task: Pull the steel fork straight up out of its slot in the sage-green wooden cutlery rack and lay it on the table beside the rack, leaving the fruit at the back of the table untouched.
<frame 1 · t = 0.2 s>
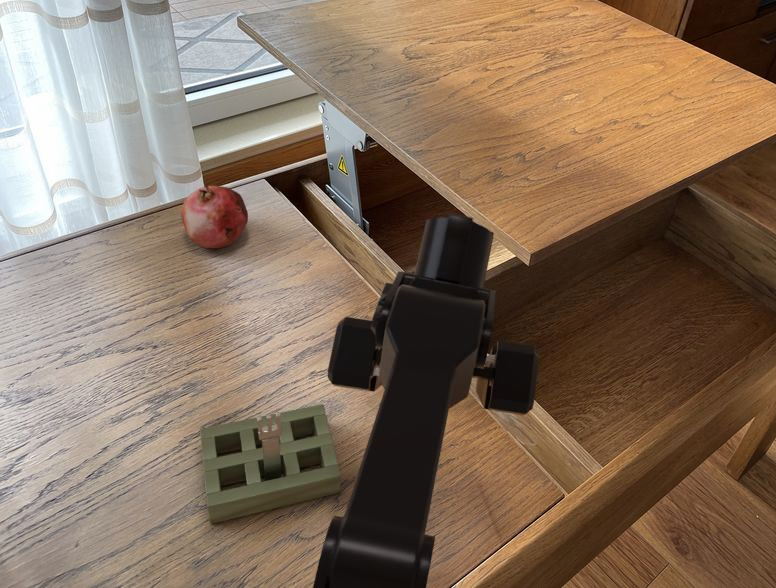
hand: (434, 376, 73), 14 cm above the table, tool tilted 30°, fingers open, 9 cm apart
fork: (273, 485, 77), resting in rack
rack: (270, 469, 79), on the table
fruit: (217, 237, 105), on the table
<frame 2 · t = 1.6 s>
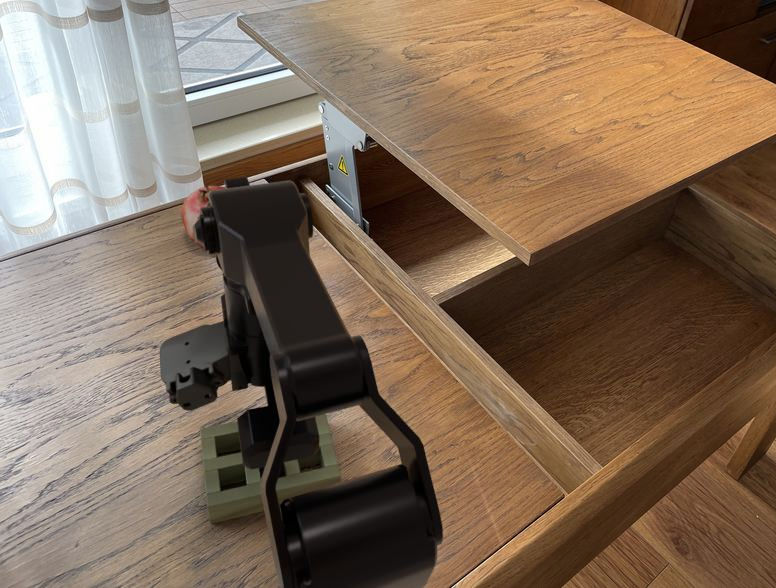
hand: (270, 421, 70), 12 cm above the table, tool pointing down, fingers open, 9 cm apart
nothing on the table moved.
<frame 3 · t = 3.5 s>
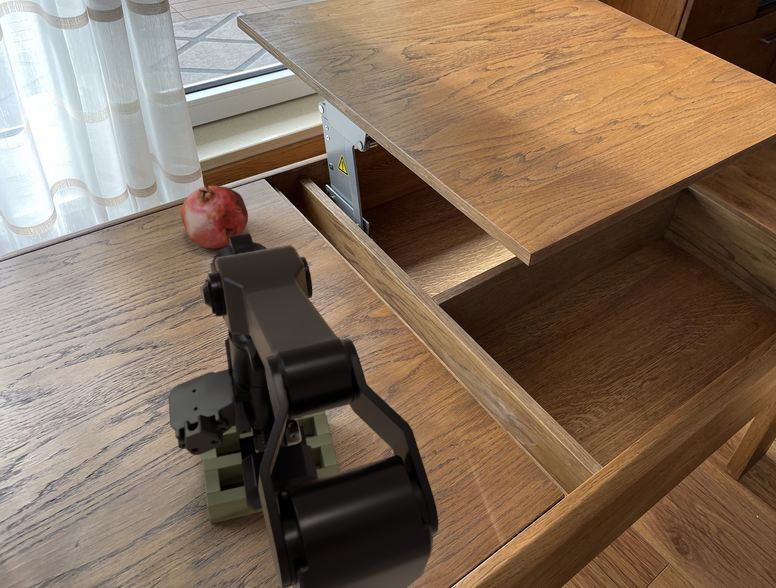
hand: (271, 457, 74), 5 cm above the table, tool pointing down, fingers closed on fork
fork: (273, 485, 77), resting in rack, touching gripper
everything else where it was.
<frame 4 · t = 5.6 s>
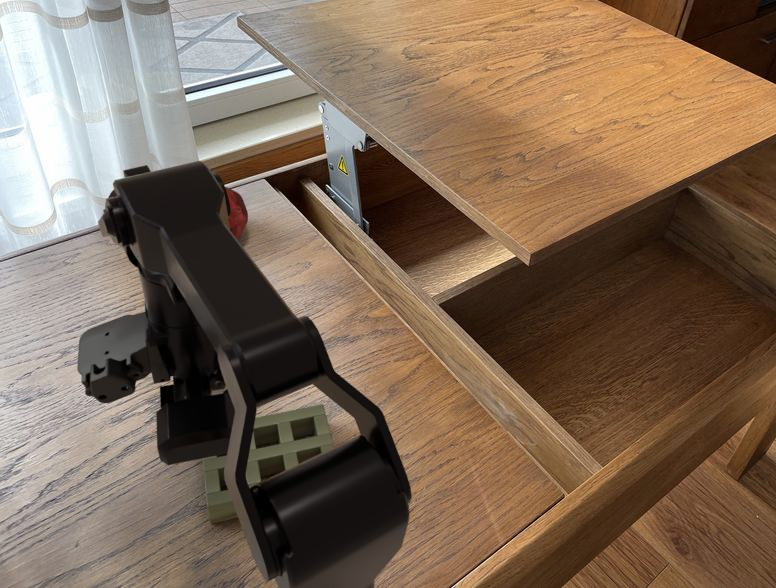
hand: (203, 415, 67), 13 cm above the table, tool pointing down, fingers closed on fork
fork: (209, 447, 71), point 8 cm above the table, touching gripper
everything else where it was.
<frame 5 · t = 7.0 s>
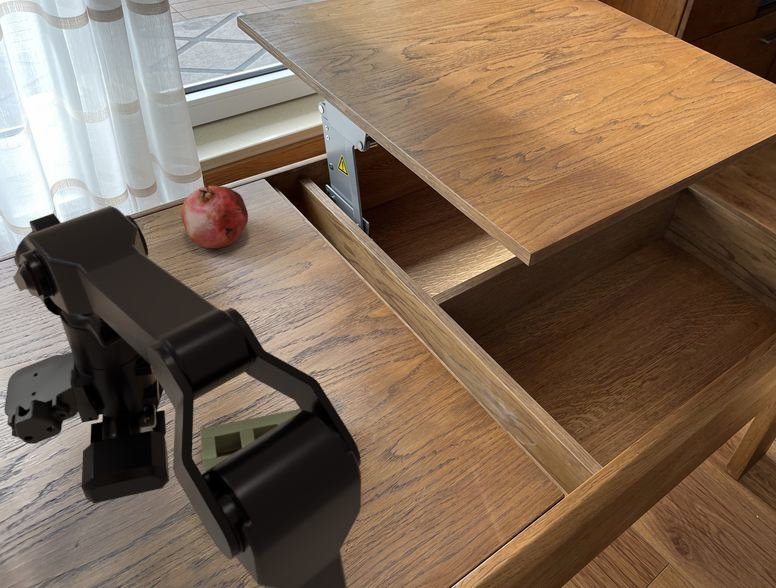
hand: (140, 449, 69), 9 cm above the table, tool pointing down, fingers closed on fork
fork: (148, 479, 72), point 3 cm above the table, touching gripper
everything else where it was.
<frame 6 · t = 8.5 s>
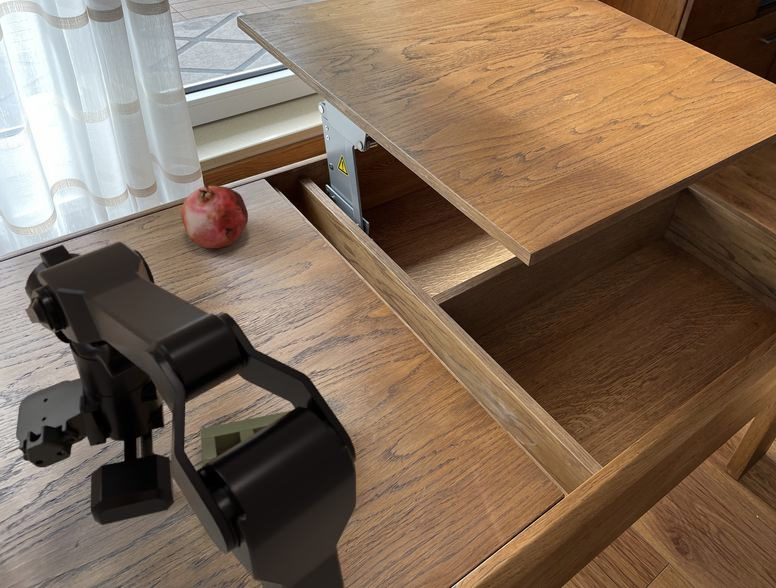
hand: (145, 468, 71), 5 cm above the table, tool pointing down, fingers open, 7 cm apart
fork: (153, 495, 74), on the table, tilted 18°, touching gripper
everything else where it was.
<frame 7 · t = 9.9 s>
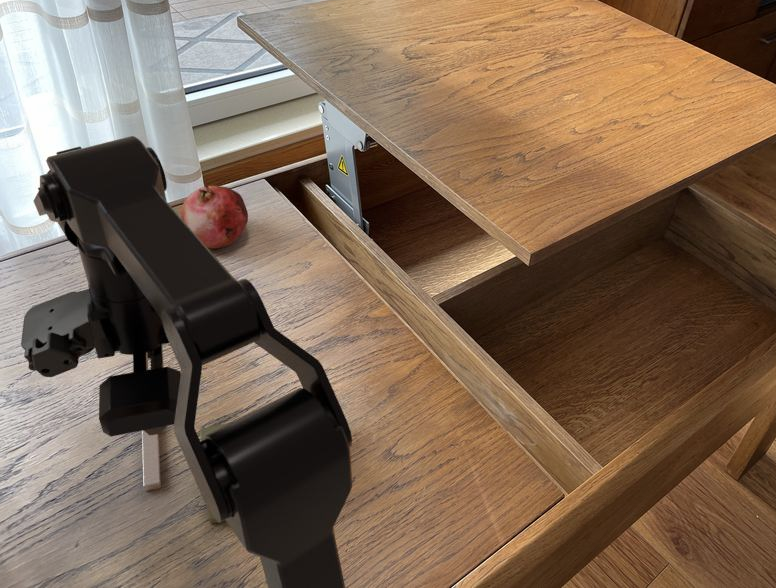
hand: (153, 393, 69), 13 cm above the table, tool pointing down, fingers open, 9 cm apart
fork: (152, 487, 75), point 1 cm above the table, tilted 90°
everything else where it was.
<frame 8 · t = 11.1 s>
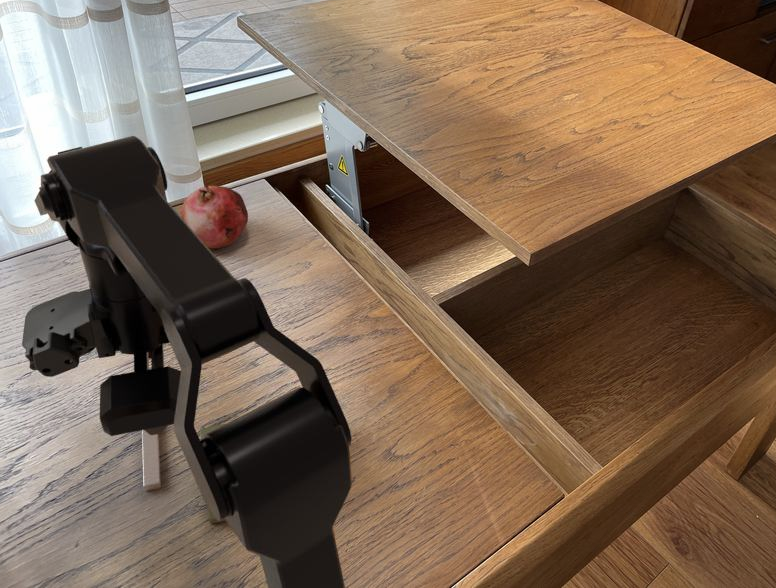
hand: (154, 393, 69), 13 cm above the table, tool pointing down, fingers open, 9 cm apart
nothing on the table moved.
at the end: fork inside the target area (1.0 cm from its centre), point 0.5 cm above the table; the gripper is holding nothing; fruit moved 0.2 cm from its start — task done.
